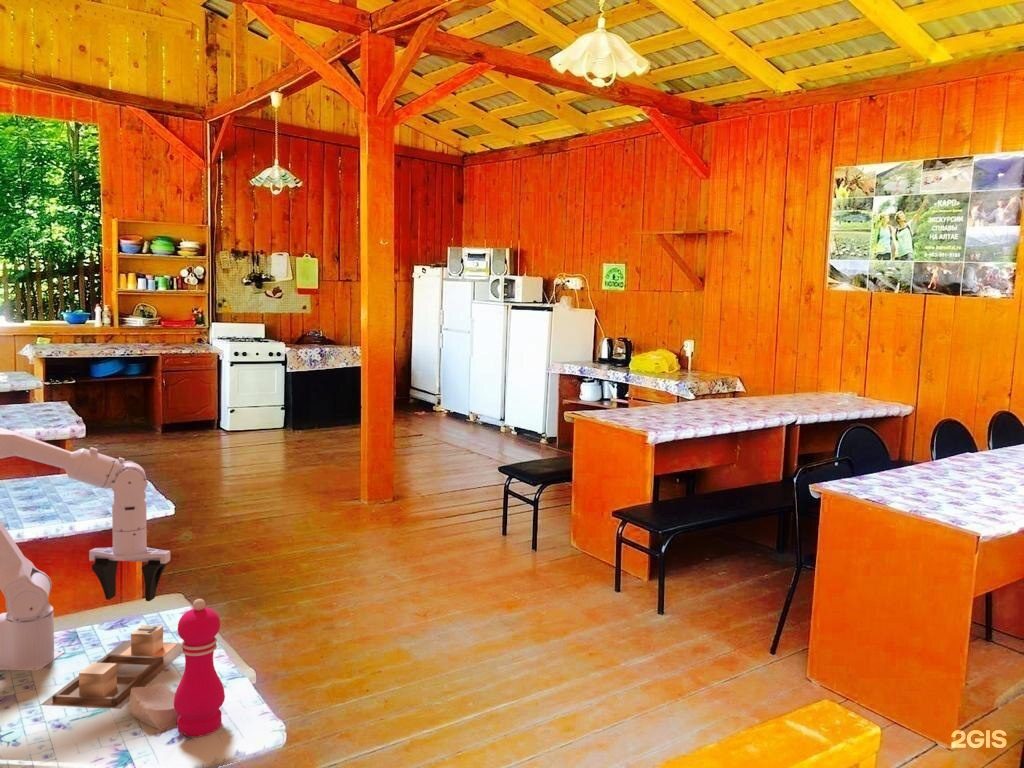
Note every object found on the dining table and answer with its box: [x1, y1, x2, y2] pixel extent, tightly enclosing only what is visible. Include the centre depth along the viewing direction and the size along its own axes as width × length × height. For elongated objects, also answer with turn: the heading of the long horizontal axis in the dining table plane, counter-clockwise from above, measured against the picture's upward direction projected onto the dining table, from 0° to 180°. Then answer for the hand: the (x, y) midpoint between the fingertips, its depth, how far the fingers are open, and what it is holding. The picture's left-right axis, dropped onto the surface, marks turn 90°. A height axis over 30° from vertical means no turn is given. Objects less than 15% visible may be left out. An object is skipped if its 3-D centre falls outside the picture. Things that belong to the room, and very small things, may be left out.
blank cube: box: [78, 661, 117, 697], centre depth 127 cm, size 4×4×4 cm
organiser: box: [40, 640, 183, 709], centre depth 135 cm, size 13×25×2 cm, turn 178°
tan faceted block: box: [128, 684, 180, 730], centre depth 121 cm, size 10×6×6 cm, turn 40°
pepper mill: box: [174, 598, 226, 738], centre depth 118 cm, size 7×7×20 cm
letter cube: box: [130, 624, 164, 656], centre depth 143 cm, size 4×4×4 cm
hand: (130, 598), depth 145 cm, fingers open, 7 cm apart
